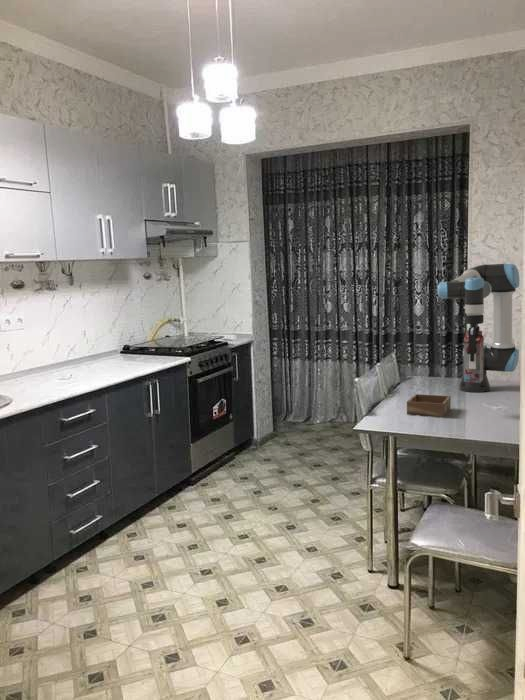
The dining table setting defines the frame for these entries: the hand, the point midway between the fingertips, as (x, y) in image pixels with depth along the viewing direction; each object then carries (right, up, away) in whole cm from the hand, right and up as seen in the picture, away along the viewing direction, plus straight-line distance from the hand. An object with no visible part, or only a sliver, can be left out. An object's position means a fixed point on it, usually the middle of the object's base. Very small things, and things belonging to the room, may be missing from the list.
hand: (473, 367), depth 255 cm
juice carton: (0, -6, +1) cm, 6 cm away
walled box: (-16, -21, +12) cm, 29 cm away
